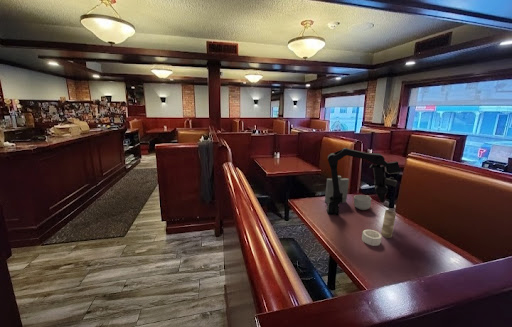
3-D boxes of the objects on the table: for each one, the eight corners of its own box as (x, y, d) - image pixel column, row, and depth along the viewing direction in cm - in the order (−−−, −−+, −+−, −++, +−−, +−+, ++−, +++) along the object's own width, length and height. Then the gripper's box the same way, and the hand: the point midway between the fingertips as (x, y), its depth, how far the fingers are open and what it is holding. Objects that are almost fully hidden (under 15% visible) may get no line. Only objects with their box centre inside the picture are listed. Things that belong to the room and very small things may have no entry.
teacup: (362, 213, 147) (364, 201, 145) (349, 206, 157) (350, 195, 155) (376, 208, 154) (378, 198, 152) (362, 202, 163) (364, 192, 161)
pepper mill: (383, 237, 120) (387, 211, 116) (379, 232, 125) (384, 206, 121) (393, 238, 119) (398, 211, 115) (389, 233, 124) (394, 207, 120)
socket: (364, 244, 114) (365, 237, 113) (360, 235, 122) (361, 228, 121) (382, 246, 112) (383, 239, 111) (376, 237, 120) (378, 230, 119)
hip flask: (344, 200, 166) (348, 174, 161) (347, 202, 162) (350, 176, 157) (324, 201, 165) (326, 175, 160) (326, 203, 161) (328, 177, 156)
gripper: (397, 176, 121) (400, 204, 122) (393, 171, 138) (396, 195, 139) (374, 178, 126) (377, 205, 127) (373, 172, 143) (375, 196, 144)
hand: (382, 200), depth 134 cm, fingers open, 9 cm apart
